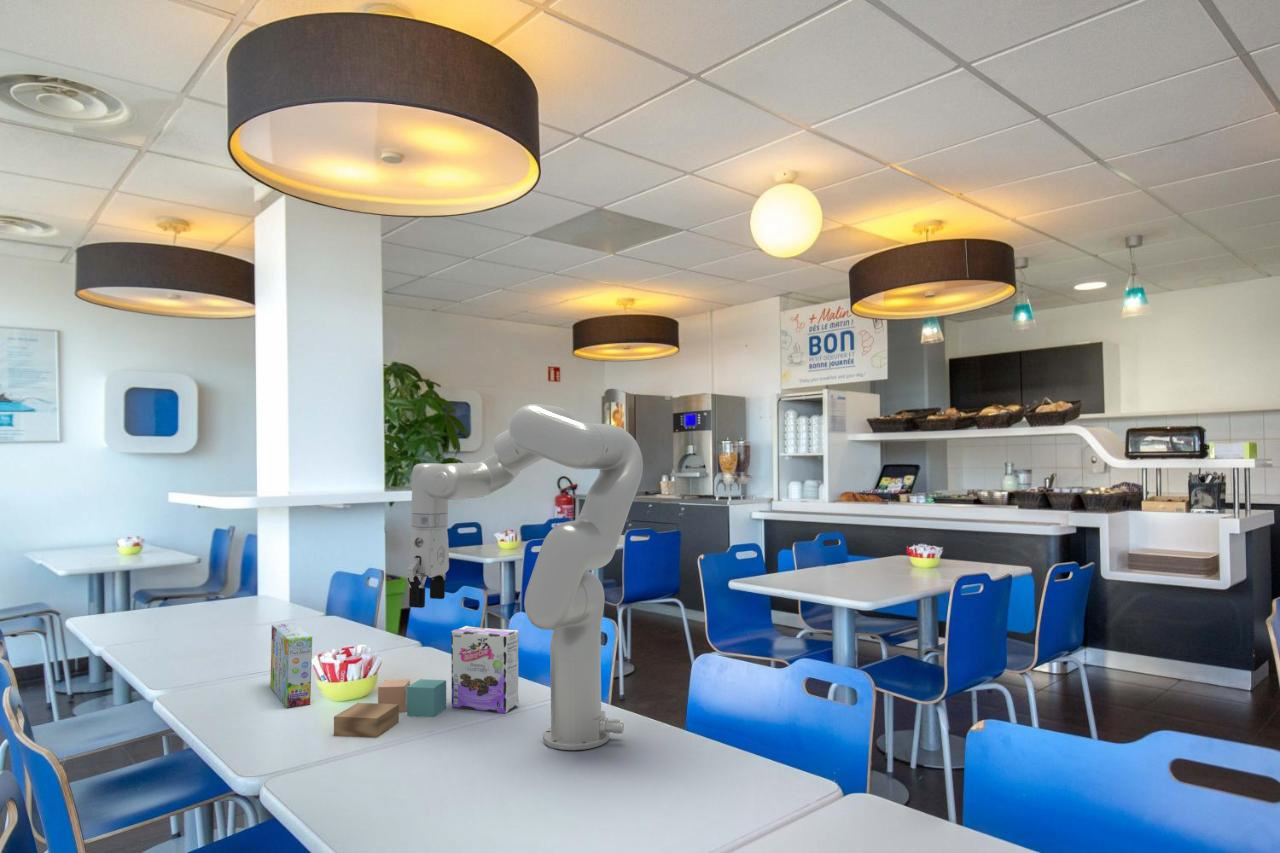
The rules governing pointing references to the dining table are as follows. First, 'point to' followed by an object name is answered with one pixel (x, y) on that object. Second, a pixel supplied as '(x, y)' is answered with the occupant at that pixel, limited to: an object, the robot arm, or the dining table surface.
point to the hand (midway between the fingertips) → (427, 602)
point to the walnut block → (366, 720)
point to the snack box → (291, 664)
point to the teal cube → (426, 698)
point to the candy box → (485, 669)
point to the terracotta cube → (394, 693)
